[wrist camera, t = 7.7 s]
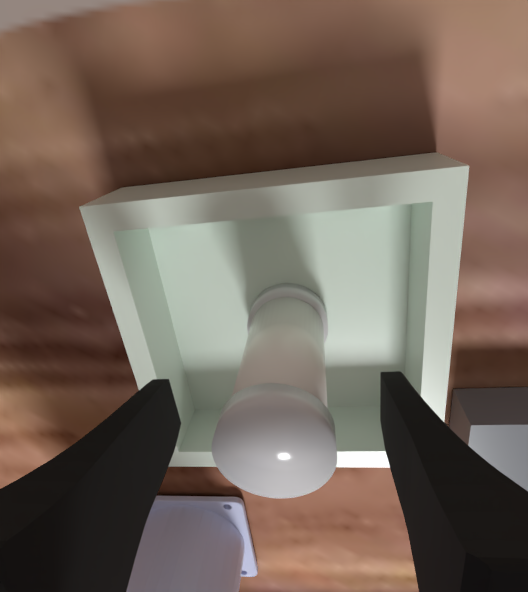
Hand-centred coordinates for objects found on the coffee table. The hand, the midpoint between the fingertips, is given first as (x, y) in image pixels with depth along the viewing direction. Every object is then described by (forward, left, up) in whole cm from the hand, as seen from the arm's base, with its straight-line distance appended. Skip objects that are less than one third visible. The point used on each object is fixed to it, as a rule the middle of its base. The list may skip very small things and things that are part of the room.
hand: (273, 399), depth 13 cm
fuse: (0, 0, -6) cm, 6 cm away
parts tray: (0, 0, -6) cm, 6 cm away
